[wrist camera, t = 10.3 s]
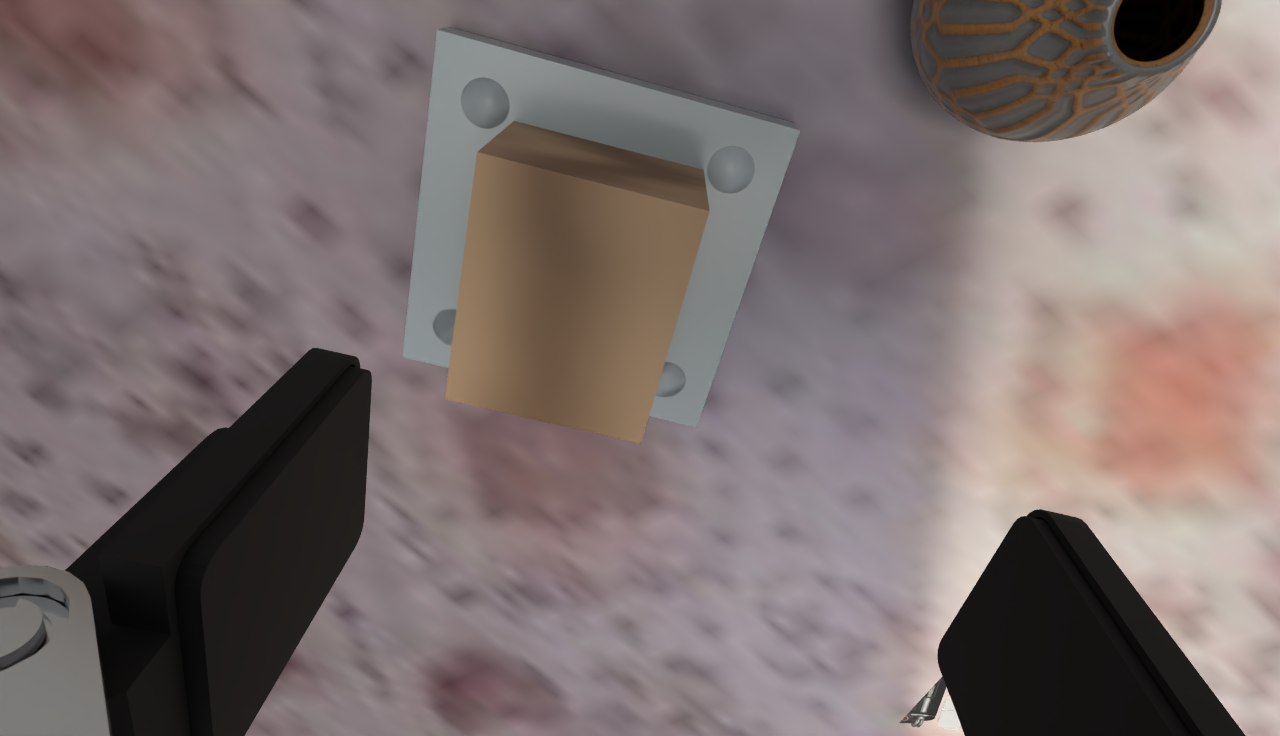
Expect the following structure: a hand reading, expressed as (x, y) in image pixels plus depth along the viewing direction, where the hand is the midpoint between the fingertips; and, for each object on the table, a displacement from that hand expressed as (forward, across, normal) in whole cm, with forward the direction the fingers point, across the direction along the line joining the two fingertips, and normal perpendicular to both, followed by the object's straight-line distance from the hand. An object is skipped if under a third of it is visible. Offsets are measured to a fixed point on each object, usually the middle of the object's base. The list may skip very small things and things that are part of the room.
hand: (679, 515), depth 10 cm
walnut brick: (+16, +3, +3) cm, 17 cm away
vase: (+18, -8, -8) cm, 22 cm away
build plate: (+18, +3, +2) cm, 18 cm away
